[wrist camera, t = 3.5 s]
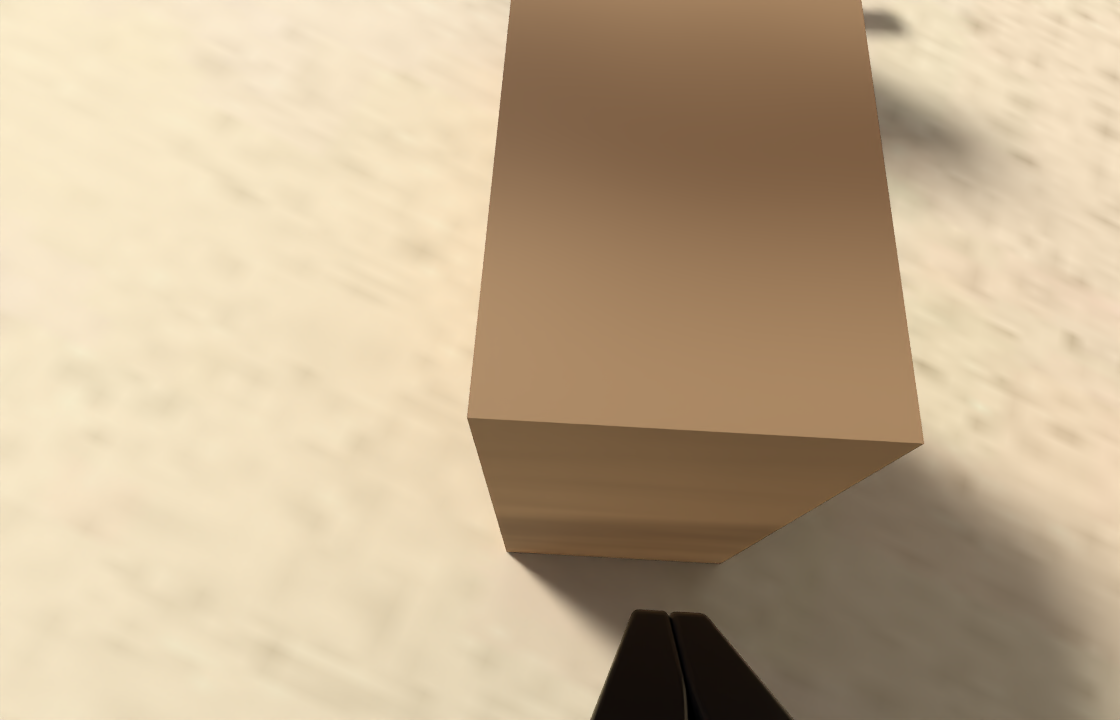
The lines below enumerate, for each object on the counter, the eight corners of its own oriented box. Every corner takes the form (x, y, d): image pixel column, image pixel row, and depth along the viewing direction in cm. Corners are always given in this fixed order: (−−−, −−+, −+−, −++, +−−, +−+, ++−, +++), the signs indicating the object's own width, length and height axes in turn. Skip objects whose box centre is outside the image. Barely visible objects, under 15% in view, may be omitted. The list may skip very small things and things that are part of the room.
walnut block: (720, 563, 16) (924, 443, 7) (506, 551, 16) (466, 418, 7) (705, 55, 21) (812, -347, 13) (545, 46, 21) (548, -363, 13)
